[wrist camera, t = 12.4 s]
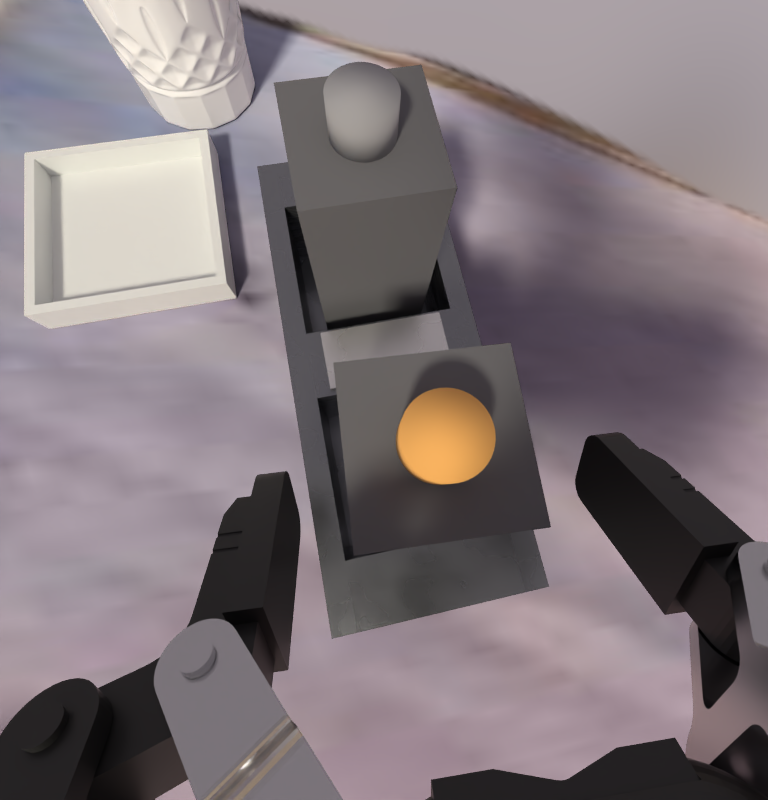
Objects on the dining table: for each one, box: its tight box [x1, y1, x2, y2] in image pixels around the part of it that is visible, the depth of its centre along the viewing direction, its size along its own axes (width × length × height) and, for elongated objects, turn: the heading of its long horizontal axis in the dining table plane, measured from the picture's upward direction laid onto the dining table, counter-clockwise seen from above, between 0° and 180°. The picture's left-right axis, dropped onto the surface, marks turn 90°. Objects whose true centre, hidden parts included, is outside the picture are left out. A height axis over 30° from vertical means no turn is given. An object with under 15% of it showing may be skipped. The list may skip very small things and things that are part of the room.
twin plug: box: [274, 62, 457, 330], centre depth 15 cm, size 4×4×11 cm
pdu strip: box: [257, 162, 549, 639], centre depth 18 cm, size 8×20×5 cm, turn 12°
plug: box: [333, 343, 551, 556], centre depth 13 cm, size 4×4×11 cm
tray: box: [24, 129, 237, 329], centre depth 22 cm, size 10×10×2 cm
